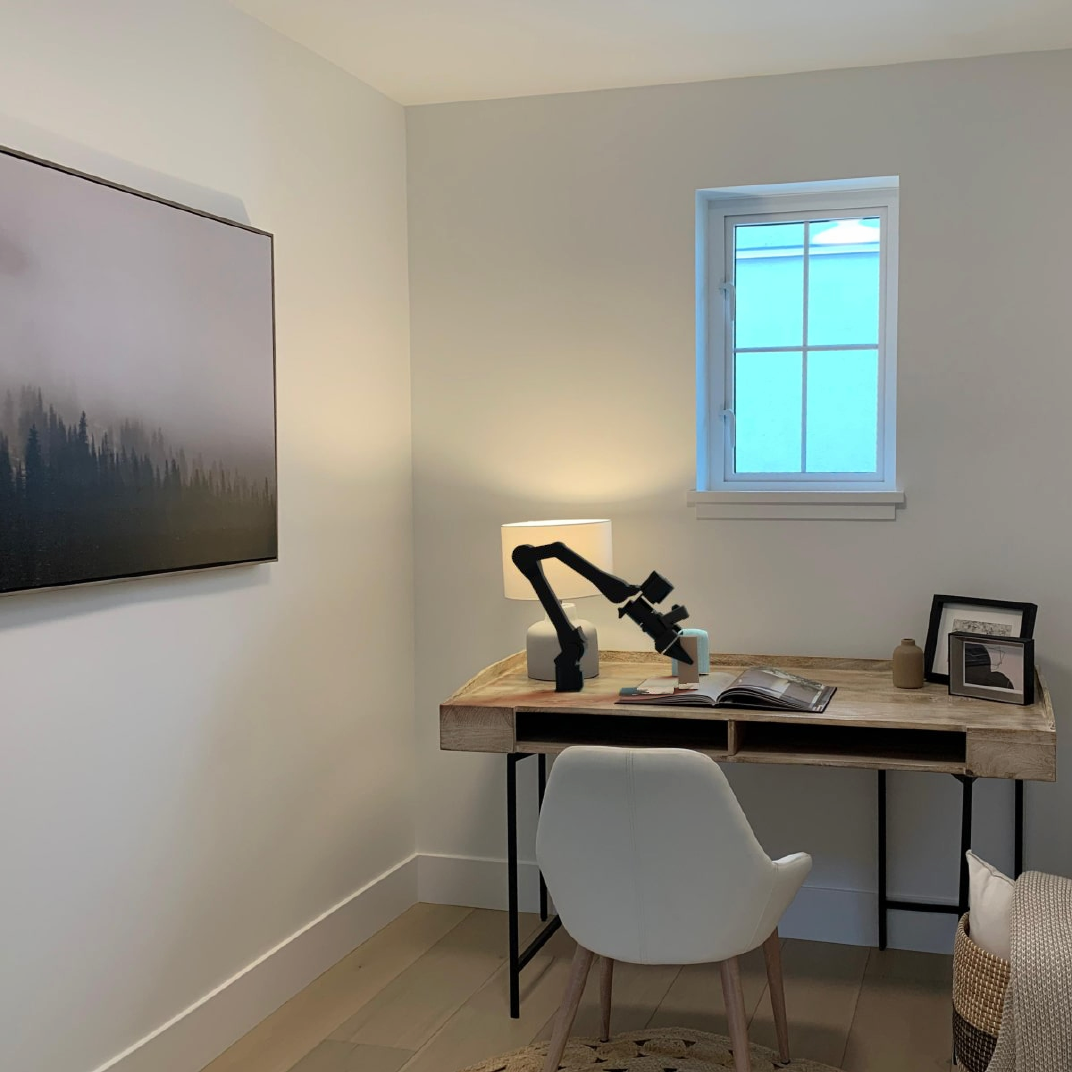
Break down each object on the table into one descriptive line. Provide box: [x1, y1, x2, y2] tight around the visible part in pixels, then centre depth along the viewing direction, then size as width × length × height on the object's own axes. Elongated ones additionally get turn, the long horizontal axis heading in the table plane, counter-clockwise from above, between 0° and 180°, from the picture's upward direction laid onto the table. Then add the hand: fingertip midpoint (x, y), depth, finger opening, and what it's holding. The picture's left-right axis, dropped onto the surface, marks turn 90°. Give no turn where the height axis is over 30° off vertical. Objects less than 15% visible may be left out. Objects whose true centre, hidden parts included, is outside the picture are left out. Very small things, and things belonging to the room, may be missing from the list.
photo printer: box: [670, 628, 710, 677], centre depth 317 cm, size 10×4×12 cm, turn 98°
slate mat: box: [618, 686, 649, 697], centre depth 291 cm, size 13×9×1 cm
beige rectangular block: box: [676, 634, 700, 685], centre depth 295 cm, size 5×5×13 cm
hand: (693, 661), depth 294 cm, fingers open, 8 cm apart
